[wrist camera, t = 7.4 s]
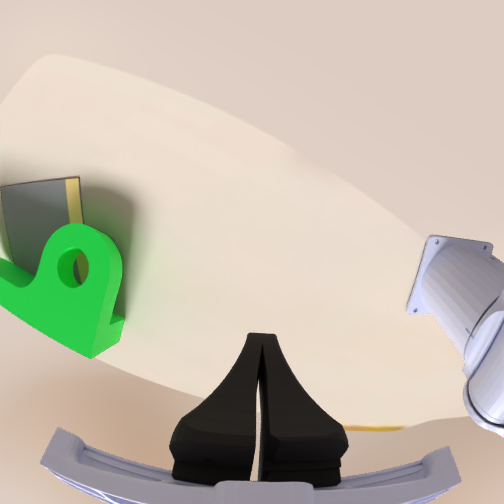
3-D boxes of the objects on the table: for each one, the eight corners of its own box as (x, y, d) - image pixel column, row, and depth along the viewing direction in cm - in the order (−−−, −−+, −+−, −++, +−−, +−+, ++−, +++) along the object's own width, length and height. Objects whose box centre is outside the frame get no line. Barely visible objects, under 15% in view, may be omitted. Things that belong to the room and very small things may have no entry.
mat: (79, 177, 20) (78, 178, 19) (102, 315, 25) (101, 315, 25) (1, 187, 20) (0, 187, 20) (25, 297, 25) (24, 297, 25)
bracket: (146, 249, 26) (123, 238, 19) (119, 341, 25) (91, 359, 17) (15, 199, 24) (-19, 182, 17) (-5, 273, 23) (-43, 270, 16)
